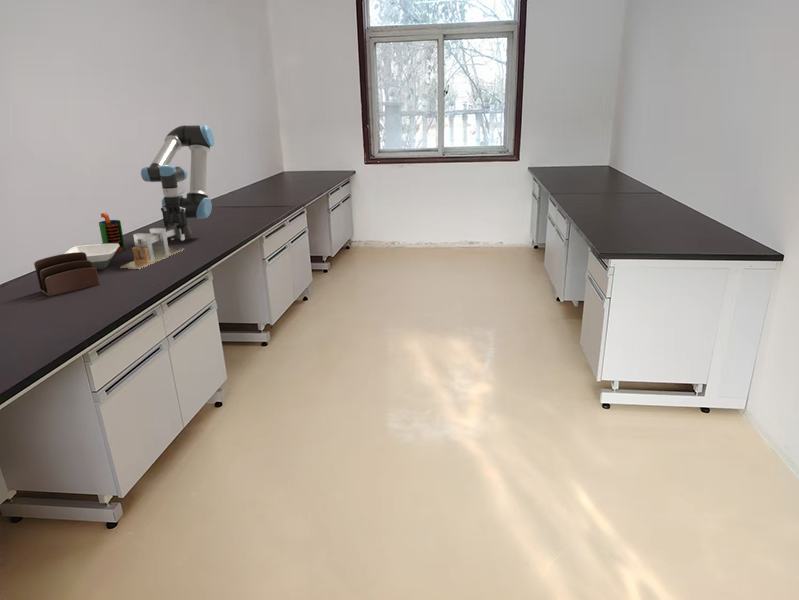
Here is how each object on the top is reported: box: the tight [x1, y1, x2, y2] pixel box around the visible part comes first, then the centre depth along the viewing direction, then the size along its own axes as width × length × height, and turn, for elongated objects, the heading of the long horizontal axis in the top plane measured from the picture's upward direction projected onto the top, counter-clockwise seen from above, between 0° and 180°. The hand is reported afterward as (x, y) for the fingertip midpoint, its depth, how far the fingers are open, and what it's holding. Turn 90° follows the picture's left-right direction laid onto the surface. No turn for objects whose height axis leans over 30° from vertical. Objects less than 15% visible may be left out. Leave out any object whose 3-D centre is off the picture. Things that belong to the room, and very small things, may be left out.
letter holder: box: [33, 252, 101, 297], centre depth 225 cm, size 10×20×14 cm, turn 138°
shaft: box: [141, 223, 185, 245], centre depth 275 cm, size 5×30×7 cm, turn 167°
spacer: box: [131, 246, 150, 263], centre depth 260 cm, size 7×2×7 cm, turn 80°
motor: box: [98, 212, 126, 253], centre depth 281 cm, size 10×9×20 cm
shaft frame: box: [120, 227, 185, 270], centre depth 267 cm, size 10×36×14 cm, turn 167°
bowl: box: [63, 243, 120, 270], centre depth 256 cm, size 22×23×8 cm
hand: (178, 239), depth 287 cm, fingers closed on shaft, 5 cm apart
